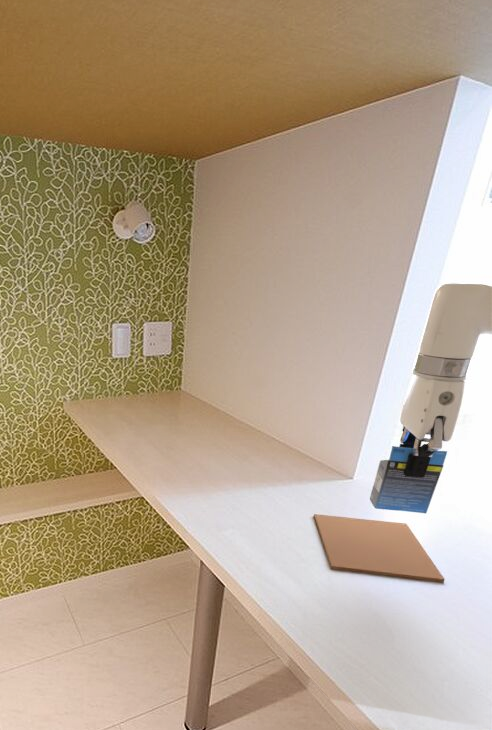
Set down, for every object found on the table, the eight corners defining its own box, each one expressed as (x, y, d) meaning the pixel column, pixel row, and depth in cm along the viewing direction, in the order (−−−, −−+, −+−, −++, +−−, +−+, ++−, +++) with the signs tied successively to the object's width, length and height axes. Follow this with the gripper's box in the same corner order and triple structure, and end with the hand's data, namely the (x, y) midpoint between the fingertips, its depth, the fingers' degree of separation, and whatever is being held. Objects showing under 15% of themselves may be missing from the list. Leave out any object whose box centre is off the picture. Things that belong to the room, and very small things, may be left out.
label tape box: (419, 504, 81) (438, 443, 76) (427, 515, 78) (448, 451, 73) (368, 499, 83) (385, 438, 78) (374, 509, 79) (392, 446, 74)
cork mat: (405, 525, 99) (406, 523, 98) (443, 582, 81) (444, 579, 80) (313, 516, 102) (314, 513, 101) (331, 568, 84) (331, 565, 84)
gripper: (495, 379, 61) (453, 494, 69) (443, 358, 76) (413, 454, 84) (437, 376, 62) (402, 489, 70) (397, 356, 77) (372, 451, 85)
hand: (409, 469), depth 77 cm, fingers closed on label tape box, 3 cm apart
